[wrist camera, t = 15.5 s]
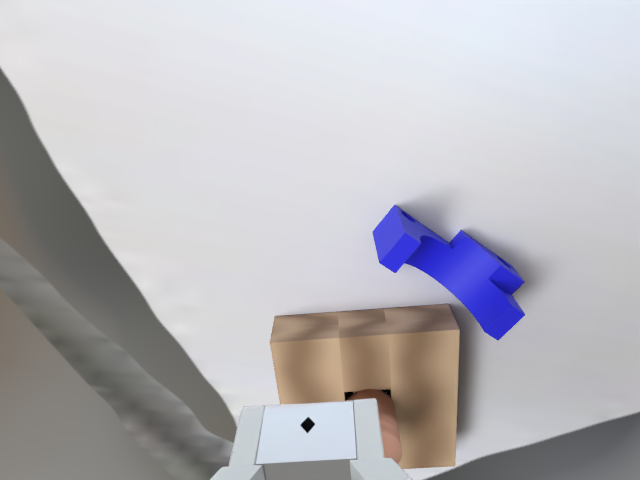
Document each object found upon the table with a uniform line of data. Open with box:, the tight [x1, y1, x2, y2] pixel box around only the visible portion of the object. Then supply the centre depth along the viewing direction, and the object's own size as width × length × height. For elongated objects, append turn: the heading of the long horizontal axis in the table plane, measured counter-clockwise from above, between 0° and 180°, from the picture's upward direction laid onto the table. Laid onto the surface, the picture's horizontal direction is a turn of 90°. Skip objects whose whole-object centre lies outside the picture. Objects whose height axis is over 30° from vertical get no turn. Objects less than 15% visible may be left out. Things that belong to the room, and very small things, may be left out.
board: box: [270, 304, 460, 469], centre depth 45 cm, size 16×16×4 cm
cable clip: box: [373, 205, 525, 340], centre depth 39 cm, size 12×4×6 cm, turn 55°
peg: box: [347, 389, 402, 464], centre depth 43 cm, size 5×5×8 cm
